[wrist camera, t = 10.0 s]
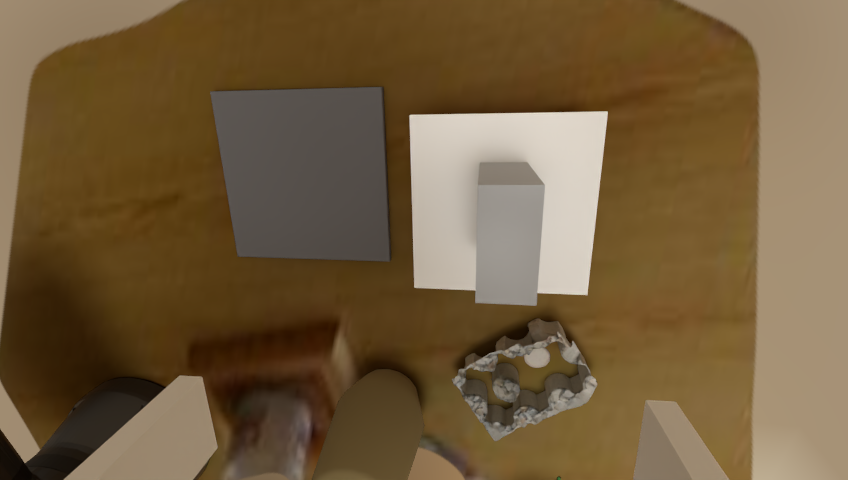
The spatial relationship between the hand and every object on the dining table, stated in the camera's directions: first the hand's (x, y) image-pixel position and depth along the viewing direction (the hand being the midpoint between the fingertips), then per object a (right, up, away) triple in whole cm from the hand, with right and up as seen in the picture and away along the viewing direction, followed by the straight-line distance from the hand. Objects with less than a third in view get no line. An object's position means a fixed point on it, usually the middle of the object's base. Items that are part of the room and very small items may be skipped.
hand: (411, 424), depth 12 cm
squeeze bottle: (-3, -9, +28) cm, 30 cm away
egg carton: (+9, -6, +25) cm, 28 cm away
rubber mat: (-9, +11, +22) cm, 26 cm away
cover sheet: (+6, +8, +16) cm, 18 cm away
